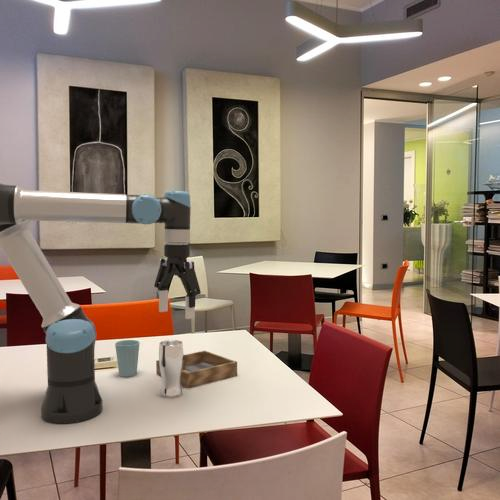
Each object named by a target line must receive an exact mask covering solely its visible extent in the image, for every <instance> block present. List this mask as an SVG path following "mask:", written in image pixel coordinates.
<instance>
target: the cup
mask: <svg viewBox="0 0 500 500" xmlns="http://www.w3.org/2000/svg"><path fill="white" fill-rule="evenodd" d="M140 344H141V343H140V340H135V339H124V340H123V339H122V340H120V341H116V342H115V343H114V346H115V353H116V354H115V355H116V362H117V367H118V368H117V369H118V374H119V376H120V377H123V378H130V377H134V376H136V375H137V373H138V363H139V351H140Z"/></svg>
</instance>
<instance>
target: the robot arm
mask: <svg viewBox="0 0 500 500" xmlns="http://www.w3.org/2000/svg"><path fill="white" fill-rule="evenodd" d="M191 209H192V207H191V195H190V193H189V192H188V191H184V190H183V191H182V190H181V191H180V190H167V191H165V192H164V196H163V197H155V196H153V195H151V194H126V193H103V192H102V193H100V192H99V193H98V192H75V191H57V190H56V191H55V190H52V191H51V190H31V189H30V190H29V189H23V188H22V187H20V185H11V184H3V183H0V249H1V251H2V252H3V254H4V255H5V257H6V258H7V260H8V262H9V264H10V265H11V267H12V269H13V271H14V272H15V273H16V275H17V277H18V279H19V280H20V282H21V284H22V286H23V287H24V289H25V291H26V292H27V294H28V295H29V297H30V299H31V300H32V302H33V304H34V305H35V307H36V309H37V310H38V311H39V313H40V315H41V317H42V323H41V328H42V330H43V331H44V333H45V345H46V367H47V368H46V369H47V370H46V371H47V372H46V373H47V374H46V375H47V376H46V377H47V387H46V391H45V394H44V397H43V399H42V404H41V408H40V413H41V419H42V420H44V421H45V422H48V423H51V424H52V423H53V424H72V423H73V424H74V423H79V422H83V421H86V420H89V419H92V418H95V417H97V416H98V415H100V413H102V412H103V400H102V398H103V397H101V393H100V390H99V389H98V385H97V383H96V373H95V372H96V371H95V370H96V369H95V368H96V367H95V366H96V365H95V364H96V363H95V347H96V346H95V345H96V343H97V331H96V329H97V328H96V325H95V324H94V322H93V321H92V320H91V319H90V318H88V317H87V315H86V313H85V312H84V309H82V306H81V305H80V304H78V303H75V302H72V300H71V298H70V297H69V295H68V294H67V291H66V290H65V289H64V287H63V286H62V283H61V282H60V280H59V279H58V276H57V275H56V274H55V272H54V269H53V268H52V266H51V265H50V263H49V262H48V260H47V258H46V256H45V254H44V253H43V252H42V249H41V247H40V246H39V244H38V242H37V241H36V238H35V237H34V236H33V234H32V232H31V230H30V229H29V225H30V221H32V222H33V221H37V222H38V221H39V222H75V223H76V222H78V223H80V222H81V223H106V224H107V223H114V224H115V223H116V224H119V223H120V224H141V225H153V224H164V230H163V231H164V232H163V233H164V235H163V236H164V237H163V239H164V240H163V242H164V243H166V244H164V245H163V256H164V257H165V258H160V261H159V262H160V263H159V267H158V268H159V269H158V272H157V274H156V277H155V281H154V284H153V285H154V288H157V290H158V312H159V313H164V312H168V311H169V310H168V309H169V290H168V286H169V285H170V282H171V281H172V279H173V277H174V276H177V278H179V279H180V282H181V284H182V286H183V288H184V290H185V293H186V295H185V304H184V305H185V311H184V313H185V316H184V318H185V320H190V319H195V311H196V310H195V309H196V297H197V296H198V295H201V293H202V291H201V288H200V285H199V281H198V278H197V274H196V270H195V261H188V258H189V257H190V255H191V251H190V250H191V246H190V244H188V243H190V241H191V233H190V232H191Z"/></svg>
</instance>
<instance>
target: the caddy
mask: <svg viewBox="0 0 500 500" xmlns="http://www.w3.org/2000/svg"><path fill="white" fill-rule="evenodd" d="M155 364H156V366H155V367H156V368H155V370H156V375H157V376H159V377H161V378H162V376H161V371H160V365H159V359H158V360H156V362H155ZM233 377H238V361H236V360H233V359H230V358H227V357H224V356H221V355H220V354H216V353H213V352H210V351H207V350H201V351H197V352H196V351H195V352H190V353H186V354H183V368H182V374H181V387H182V388H185V389H192V388H194V387H198V386H199V387H200V386H202V385H207V384H211V383H214V382H218V381H222V380H227V379H229V378H233Z"/></svg>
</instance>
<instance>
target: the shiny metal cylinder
mask: <svg viewBox="0 0 500 500" xmlns="http://www.w3.org/2000/svg"><path fill="white" fill-rule="evenodd" d="M183 355H184V348H183V341H181V340H177V339H168V340H164V341H163V340H162V341H160V342H159V345H158V360H159V365H160V371H161V376H162V377H161V376H160V377H161V391H160V396H161V397H163V398H170V399H173V398H178V397H180V396H182V395H183V389H182V388H183V387H182V386H181V374H182V368H183Z"/></svg>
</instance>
